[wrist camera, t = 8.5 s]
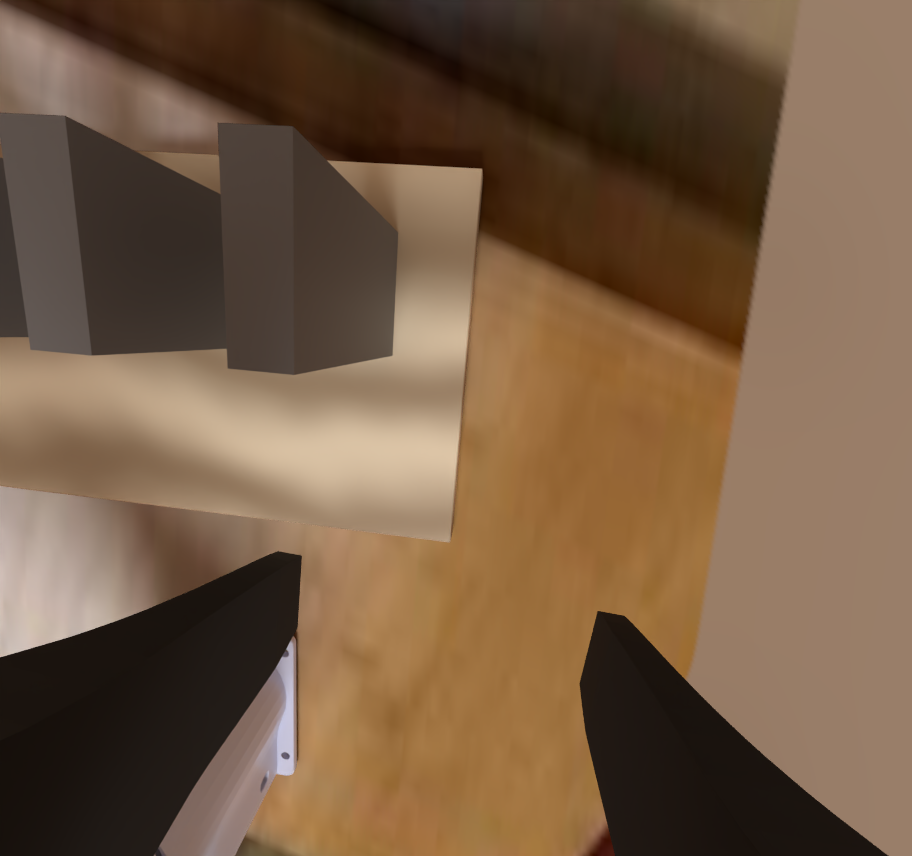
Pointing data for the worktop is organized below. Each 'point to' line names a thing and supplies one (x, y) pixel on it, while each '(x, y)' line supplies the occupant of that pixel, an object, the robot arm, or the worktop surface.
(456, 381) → the birch board
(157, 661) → the robot arm
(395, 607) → the worktop surface
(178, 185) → the domino
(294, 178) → the domino
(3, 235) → the domino
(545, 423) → the worktop surface
